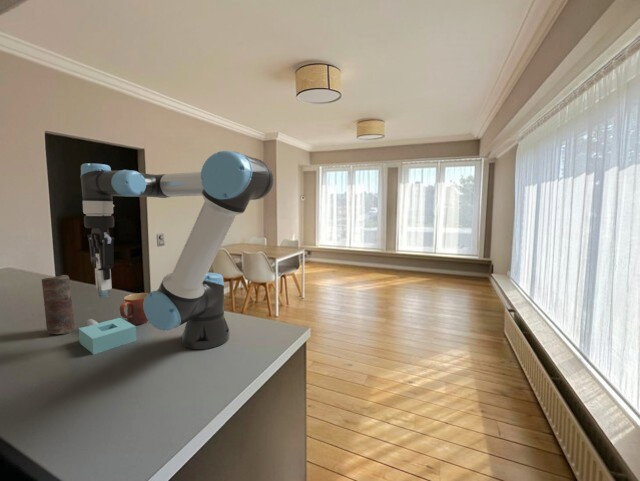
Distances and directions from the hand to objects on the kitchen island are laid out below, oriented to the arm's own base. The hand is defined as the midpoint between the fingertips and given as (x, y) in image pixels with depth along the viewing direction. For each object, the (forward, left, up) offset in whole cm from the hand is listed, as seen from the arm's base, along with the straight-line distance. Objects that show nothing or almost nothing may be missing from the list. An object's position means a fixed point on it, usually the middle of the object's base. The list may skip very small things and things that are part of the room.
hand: (103, 288), depth 96 cm
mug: (+9, -12, -19) cm, 24 cm away
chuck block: (+5, 0, -18) cm, 19 cm away
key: (0, 0, -3) cm, 3 cm away
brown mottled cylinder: (+21, +7, -19) cm, 29 cm away
